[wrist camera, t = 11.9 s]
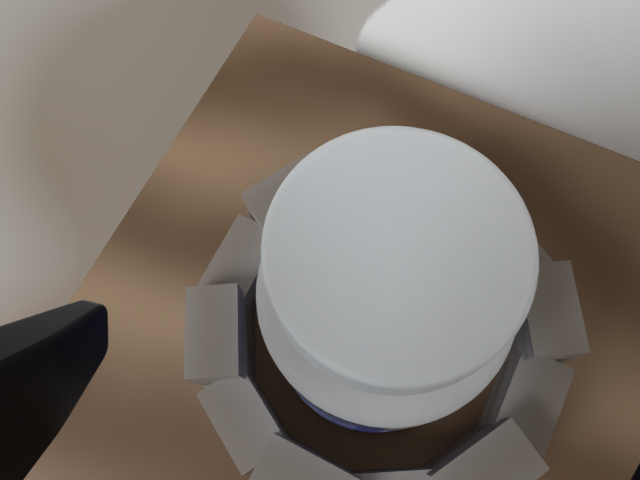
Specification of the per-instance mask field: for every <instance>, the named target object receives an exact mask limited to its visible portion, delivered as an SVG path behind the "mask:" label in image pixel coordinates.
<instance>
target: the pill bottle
mask: <svg viewBox="0 0 640 480" xmlns="http://www.w3.org/2000/svg"><path fill="white" fill-rule="evenodd" d="M538 274H539V251H538V242H537V237H536V234H535V229H534V226H533V223H532V219H531V217H530V214H529V212H528V210H527V208H526V205H525V203H524V201H523V199H522V198H521V196H520V194H519V193H518V191H517V189H516V188H515V186H514V185H513V184H512V183H511V181H510V180H509V179H508V178H507V177H506V175H505V174H504V173H503V172H502V171H501V170H500V169H499V168H498V167H497V166H496V165H495V164H494V163H493V162H491V161H490V160H489V159H488V158H487V157H485V156H484V155H482V154H481V153H480V152H478V151H477V150H475V149H473V148H472V147H470V146H469V145H467V144H465V143H463V142H461V141H459V140H457V139H455V138H452V137H450V136H447V135H445V134H442V133H438V132H435V131H431V130H426V129H421V128H414V127H407V126H379V127H372V128H365V129H361V130H357V131H353V132H350V133H347V134H344V135H341V136H339V137H337V138H335V139H333V140H330V141H328V142H327V143H325V144H323V145H321V146H320V147H318V148H317V149H315V150H314V151H313V152H311V153H310V154H308V155H307V156H306V157H305V158H304V159H302V160H301V161H300V162H299V163H298V164H297V165H296V166H295V167H294V168H293V170H292V171H291V172H290V173H289V174H288V175H287V177H286V178H285V180H284V181H283V183H282V184H281V186H280V187H279V189H278V190H277V192H276V194H275V196H274V198H273V200H272V202H271V205H270V207H269V210H268V212H267V215H266V219H265V223H264V227H263V233H262V241H261V262H260V266H259V270H258V276H257V282H256V306H257V314H258V323H259V326H260V329H261V333H262V336H263V339H264V341H265V344H266V346H267V349H268V351H269V353H270V355H271V357H272V358H273V360H274V362H275V364H276V366H277V367H278V369H279V370H280V372H281V373H282V375H283V376H284V377H285V379H286V380H287V381H288V383H289V384H290V385H291V386H292V387H293V388H294V389H295V391H296V392H297V393H298V394H299V396H300V397H301V398H302V400H303V401H304V402H305V403H306V404H307V405H308V406H309V407H310V408H311V409H312V410H313V411H315V412H316V413H317V414H318V415H320V416H321V417H323V418H324V419H326V420H327V421H329V422H331V423H333V424H335V425H338V426H340V427H342V428H345V429H349V430H353V431H358V432H364V433H385V432H392V431H397V430H401V429H406V428H411V427H415V426H420V425H423V424H427V423H430V422H433V421H436V420H438V419H441V418H443V417H445V416H447V415H449V414H451V413H453V412H455V411H456V410H458V409H460V408H461V407H463V406H464V405H465V404H467V403H468V402H470V401H471V400H473V399H474V398H475V397H476V396H477V395H478V394H479V393H481V392H482V391H483V389H484V388H485V387H486V386H487V385H488V384H489V383H490V382H491V380H492V379H493V378H494V377H495V375H496V374H497V373H498V371H499V370H500V368H501V366H502V365H503V363H504V361H505V359H506V357H507V355H508V353H509V351H510V349H511V346H512V343H513V341H514V338H515V335H516V334H517V332H518V331H519V329H520V328H521V326H522V325H523V323H524V321H525V319H526V317H527V315H528V313H529V310H530V308H531V305H532V303H533V300H534V296H535V292H536V288H537V282H538Z"/></svg>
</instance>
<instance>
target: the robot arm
mask: <svg viewBox="0 0 640 480" xmlns="http://www.w3.org/2000/svg"><path fill="white" fill-rule="evenodd" d="M107 350H108V311H107V308H106V307H105V306H104V305H103V304H99V303H95V302H91V301H87V300H80V301H77V302H74V303H70V304H67V305H64V306H61V307H58V308H55V309H52V310H49V311H46V312H43V313H40V314H37V315H34V316H31V317H27V318H24V319H21V320H18V321H15V322H12V323H9V324H6V325H3V326H0V480H24V478H25V477H26V476H27V474H28V473H29V472H30V470H31V469H32V468H33V467H34V465H35V464H36V463H37V461H38V460H39V459H40V457H41V456H42V455H43V453H44V452H45V451H46V449H47V448H48V447H49V445H50V444H51V443H52V441H53V440H54V439H55V437H56V436H57V434H58V433H59V432H60V430H61V429H62V427H63V425H64V424H65V422H66V421H67V419H68V418H69V416H70V414H71V413H72V411H73V409H74V408H75V406H76V404H77V403H78V401H79V399H80V398H81V396H82V394H83V393H84V391H85V389H86V388H87V386H88V384H89V383H90V381H91V379H92V378H93V376H94V374H95V373H96V371H97V369H98V368H99V366H100V364H101V363H102V361H103V359H104V357H105V355H106V353H107ZM631 480H640V463H639V465H638V467H637V469H636V470H635V472H634V474H633V476H632V478H631Z"/></svg>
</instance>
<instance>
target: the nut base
mask: <svg viewBox="0 0 640 480" xmlns="http://www.w3.org/2000/svg"><path fill="white" fill-rule="evenodd" d="M379 126H407V127H414V128H421V129H426V130H431V131H435V132H438V133H442V134H445V135H447V136H450V137H452V138H455V139H457V140H459V141H461V142H463V143H465V144H467V145H469V146H470V147H472V148H473V149H475V150H477V151H478V152H480V153H481V154H482V155H484V156H485V157H487V158H488V159H489V160H490V161H491V162H493V163H494V164H495V165H496V166H497V167H498V168H499V169H500V170H501V171H502V172H503V173H504V174H505V175H506V177H507V178H508V179H509V180H510V181H511V183H512V184H513V185H514V186H515V188H516V189H517V191H518V193H519V194H520V196H521V198H522V199H523V201H524V203H525V205H526V208H527V210H528V212H529V214H530V217H531V219H532V223H533V226H534V229H535V234H536V237H537V242H538V251H539V274H538V282H537V288H536V292H535V296H534V300H533V303H532V305H531V308H530V310H529V313H528V315H527V317H526V319H525V321H524V323H523V325H522V326H521V328H520V329H519V331H518V332H517V334H516V335H515V338H514V341H513V343H512V346H511V349H510V351H509V353H508V355H507V357H506V359H505V361H504V363H503V365H502V366H501V368H500V370H499V371H498V373H497V374H496V375H495V377H494V378H493V379H492V380H491V382H490V383H489V384H488V385H487V386H486V387H485V388H484V389H483V391H482V392H481V393H479V394H478V395H477V396H476V397H475V398H474V399H473V400H471V401H470V402H468V403H467V404H465V405H464V406H463V407H461V408H460V409H458V410H456V411H455V412H453V413H451V414H449V415H447V416H445V417H443V418H441V419H438V420H436V421H433V422H430V423H427V424H423V425H420V426H415V427H411V428H406V429H401V430H397V431H392V432H385V433H364V432H358V431H353V430H349V429H345V428H342V427H340V426H338V425H335V424H333V423H331V422H329V421H327V420H326V419H324V418H323V417H321V416H320V415H318V414H317V413H316V412H315V411H313V410H312V409H311V408H310V407H309V406H308V405H307V404H306V403H305V402H304V401H303V400H302V398H301V397H300V396H299V394H298V393H297V392H296V391H295V389H294V388H293V387H292V386H291V385H290V384H289V383H288V381H287V380H286V379H285V377H284V376H283V375H282V373H281V372H280V370H279V369H278V367H277V366H276V364H275V362H274V360H273V358H272V357H271V355H270V353H269V351H268V349H267V346H266V344H265V341H264V339H263V336H262V333H261V329H260V326H259V323H258V314H257V306H256V282H257V276H258V270H259V266H260V262H261V241H262V233H263V227H264V223H265V219H266V215H267V212H268V210H269V207H270V205H271V202H272V200H273V198H274V196H275V194H276V192H277V190H278V189H279V187H280V186H281V184H282V183H283V181H284V180H285V178H286V177H287V175H288V174H289V173H290V172H291V171H292V170H293V168H294V167H295V166H296V165H297V164H298V163H299V162H300V161H301V160H302V159H304V158H305V157H306V156H307V155H308V154H310V153H311V152H313V151H314V150H315V149H317V148H318V147H320V146H321V145H323V144H325V143H327V142H328V141H330V140H333V139H335V138H337V137H339V136H341V135H344V134H347V133H350V132H353V131H357V130H361V129H365V128H372V127H379ZM80 300H87V301H91V302H95V303H99V304H103V305H104V306H105V307H106V308H107V311H108V350H107V353H106V355H105V357H104V359H103V361H102V363H101V364H100V366H99V368H98V369H97V371H96V373H95V374H94V376H93V378H92V379H91V381H90V383H89V384H88V386H87V388H86V389H85V391H84V393H83V394H82V396H81V398H80V399H79V401H78V403H77V404H76V406H75V408H74V409H73V411H72V413H71V414H70V416H69V418H68V419H67V421H66V422H65V424H64V425H63V427H62V429H61V430H60V432H59V433H58V434H57V436H56V437H55V439H54V440H53V441H52V443H51V444H50V445H49V447H48V448H47V449H46V451H45V452H44V453H43V455H42V456H41V457H40V459H39V460H38V461H37V463H36V464H35V465H34V467H33V468H32V469H31V470H30V472H29V473H28V474H27V476H26V477H25V478H24V480H631V478H632V476H633V474H634V472H635V470H636V469H637V467H638V465H639V463H640V162H639V161H636V160H634V159H631V158H629V157H626V156H623V155H621V154H618V153H616V152H613V151H610V150H608V149H605V148H603V147H600V146H597V145H595V144H592V143H590V142H587V141H584V140H582V139H579V138H577V137H574V136H571V135H569V134H566V133H564V132H561V131H558V130H556V129H553V128H551V127H548V126H546V125H543V124H540V123H538V122H535V121H533V120H530V119H527V118H525V117H522V116H520V115H517V114H514V113H512V112H509V111H507V110H504V109H501V108H499V107H496V106H494V105H491V104H488V103H486V102H483V101H481V100H478V99H476V98H473V97H470V96H468V95H465V94H463V93H460V92H457V91H455V90H452V89H450V88H447V87H444V86H442V85H439V84H437V83H434V82H431V81H429V80H426V79H424V78H421V77H418V76H416V75H413V74H411V73H408V72H405V71H403V70H400V69H398V68H395V67H393V66H390V65H387V64H385V63H382V62H380V61H377V60H374V59H372V58H369V57H367V56H364V55H361V54H359V53H356V52H354V51H351V50H348V49H346V48H343V47H340V46H338V45H335V44H333V43H330V42H328V41H325V40H322V39H319V38H317V37H314V36H312V35H310V34H307V33H304V32H301V31H299V30H296V29H294V28H291V27H289V26H286V25H283V24H281V23H278V22H276V21H273V20H271V19H268V18H265V17H263V16H260V15H258V14H256V15H255V17H254V18H253V20H252V21H251V23H250V25H249V26H248V28H247V29H246V31H245V32H244V34H243V35H242V37H241V38H240V40H239V41H238V43H237V44H236V46H235V48H234V49H233V51H232V52H231V54H230V55H229V57H228V58H227V60H226V62H225V63H224V64H223V66H222V68H221V69H220V71H219V73H218V74H217V75H216V77H215V78H214V80H213V82H212V83H211V84H210V86H209V88H208V89H207V91H206V92H205V94H204V95H203V97H202V98H201V100H200V101H199V103H198V104H197V106H196V108H195V109H194V111H193V112H192V114H191V115H190V117H189V118H188V120H187V121H186V123H185V125H184V126H183V128H182V129H181V131H180V132H179V134H178V135H177V137H176V138H175V140H174V141H173V143H172V144H171V146H170V148H169V149H168V151H167V152H166V154H165V155H164V157H163V159H162V160H161V161H160V163H159V164H158V166H157V168H156V169H155V171H154V172H153V174H152V175H151V177H150V178H149V180H148V181H147V183H146V184H145V186H144V188H143V189H142V191H141V192H140V194H139V195H138V197H137V198H136V200H135V201H134V203H133V204H132V206H131V208H130V209H129V211H128V212H127V214H126V215H125V217H124V218H123V220H122V222H121V223H120V224H119V226H118V228H117V229H116V231H115V232H114V234H113V235H112V237H111V238H110V240H109V242H108V243H107V245H106V246H105V248H104V249H103V251H102V252H101V254H100V255H99V257H98V258H97V260H96V261H95V263H94V265H93V266H92V268H91V269H90V271H89V272H88V274H87V275H86V277H85V278H84V280H83V282H82V283H81V285H80V286H79V288H78V289H77V291H76V292H75V294H74V295H73V297H72V299H71V300H70V301H69V303H68V304H70V303H74V302H77V301H80Z"/></svg>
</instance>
